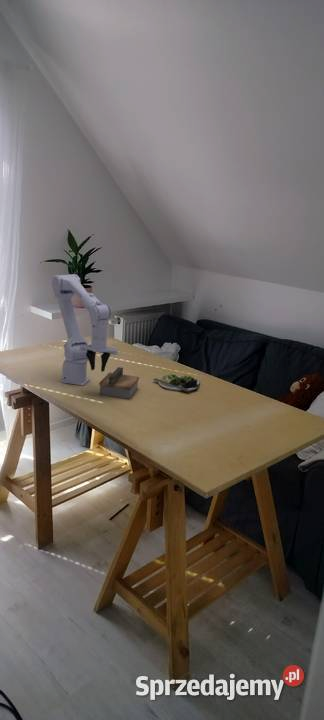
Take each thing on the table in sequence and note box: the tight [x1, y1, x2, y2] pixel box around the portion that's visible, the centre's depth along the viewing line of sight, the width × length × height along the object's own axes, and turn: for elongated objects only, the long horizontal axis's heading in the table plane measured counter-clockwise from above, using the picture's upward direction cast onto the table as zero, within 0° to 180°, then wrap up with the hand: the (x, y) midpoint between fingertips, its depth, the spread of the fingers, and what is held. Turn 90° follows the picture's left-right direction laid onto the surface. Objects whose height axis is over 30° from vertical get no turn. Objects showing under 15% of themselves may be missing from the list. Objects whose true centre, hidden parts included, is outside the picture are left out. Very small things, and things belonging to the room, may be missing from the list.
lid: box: [98, 366, 140, 390], centre depth 202 cm, size 13×13×4 cm
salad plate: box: [152, 374, 201, 393], centre depth 215 cm, size 19×18×5 cm
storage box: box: [99, 380, 139, 400], centre depth 203 cm, size 12×12×4 cm
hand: (97, 370), depth 198 cm, fingers open, 3 cm apart
